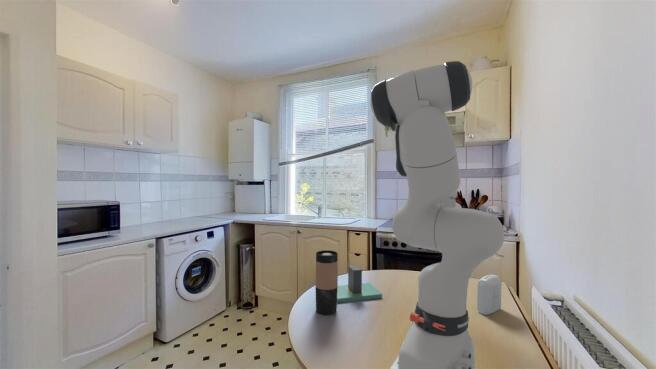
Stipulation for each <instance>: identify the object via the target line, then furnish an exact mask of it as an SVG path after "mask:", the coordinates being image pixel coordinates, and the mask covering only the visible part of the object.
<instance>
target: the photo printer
mask: <svg viewBox="0 0 656 369" xmlns="http://www.w3.org/2000/svg"><path fill="white" fill-rule="evenodd" d="M502 285H503V284H502V280H501V277H499V276H498V275H495V274H488V275H485V276H482V277H481V278H480V279H479V281H478V282H477V295H476V296H477V298H476V300H477V302H476V306H477V307H476V308H477V310H476V311H477V312H478V313H480V314H482V315H485V316H487V315H492V314H493V313H496V312H497V311H500V310H501V308H502Z"/></svg>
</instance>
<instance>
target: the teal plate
mask: <svg viewBox="0 0 656 369" xmlns="http://www.w3.org/2000/svg"><path fill="white" fill-rule="evenodd" d="M382 298H383V293H382V292H381V291H379V290H378V289H377V288H376V287H375V286H374V285H373V284H371V282H366V283H364V282H362V293H355V294H353V293H352V292H351V290H350V289H349V288H348V284H343V285H338V288H337V304H339V303H349V302H356V301H357V302H358V301H364V300H365V301H366V300H375V299H382Z"/></svg>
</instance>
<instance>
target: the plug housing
mask: <svg viewBox="0 0 656 369" xmlns="http://www.w3.org/2000/svg"><path fill="white" fill-rule="evenodd" d="M347 270H348V271H347V272H348V273H347V276H348V278H347V282H348V284H347V285H348V288H349V289H350V290H351V292H352V293H353V294H355V293H362V284H363V282H362V281H363V279H362V278H363V271H362V270H363V269H362V268H360V267H359V266H358V265H357V264H356V265H355V264H353V265H348V268H347Z"/></svg>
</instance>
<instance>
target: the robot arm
mask: <svg viewBox="0 0 656 369" xmlns="http://www.w3.org/2000/svg"><path fill="white" fill-rule="evenodd" d="M472 92H473V79H472V76H471V73H470V70H468V68H467V66H466V64H465V63H463V62H461V61H460V60H457V61H456V60H455V61H454V60H453V61H452V60H451V61H444V63H443V64H437V65H432V66H431V65H430V66H427V67H423V68H419V69H416V70H415V69H411V70H409V71H406V72H404V73H401V74H398V75H395V76H393V77H391V78H389V79H384V80H381V81H380V82H378V83H376V84H375V85H373V86H372V89H371V91H370V108H371V111H372V114H373V115H374V117H375V119H376V121H377V122H378V123H380V124H381V125H383V126H384V127H387V128H390V129H391V131H393V132H394V133H395V138H394V141H395V152H396V153H395V155H396V160H395V168H396V171H397V172H398V174H399V175H400V176H401V177H405V178H406V179H407V186H408V197H407V200H406V202H405V203H404V205H402V206H401V207H399V209H398V210H397V211H396V212H395V213H394V216H393V218H392V223H391V224H392V225H391V226H392V231H393V235H394V236H395V237H394V238H396V240H397V241H399V242H401V243H402V244H403V243H404V244H405V245H408V246H411V247H413V248H418V249H419V248H420V249H424V250H430V251H436V252H440V253H441V256H442V257H441V261H440V262H436V263H432V264H430V265H427V266H426V267H423V269H422V270H421V271H420V273H419V276H418V280H417V281H418V282H417V284H418V285H417V288H418V289H417V291H418V292H417V302H416V305H415V308H414V312H413V311H411V312H410V315H409V317H408V318H409V322H410V321H411V322H412V324H411V326H410V329H409V330H408V332H407V334H406V336H405V338H404V340H403V343H402V344H401V347H400V349H399V352H398V353H399V354H398V355H397V357H396V359H395V360H394V362H393V363H392V364H391V366H390V368H389V369H477V368H476V348H475V341H474V339H473V338H472V336H471V335H470V333H469V330H468V329H469V321H470V318H469V311H468V310H467V302H468V301H467V300H468V299H467V298H468V290H469V283H470V282H469V281H470V279H471V276H472V273H473V272H474V271H475V270H476V268H477V267H478V266H479V265H480V264H481V263H482V262H484V261H485V260H487V259H489V258H491V257H493V256H495V255H496V254H497V253H498V252H499V251H500V250H501V248H502V246H503V245H504V242H505V230H504V226H503V223H501V220H500V219H499V218H498V217H497V216H496V214H493V213H490V212H488V211H487V212H486V211H483V210H479V209H475V208H463V207H456V206H457V201H456V198H457V197H458V192H457V191H458V190H459V188H460V186H461V175H460V167H459V161H458V154H457V149H456V147H457V146H456V143H455V140H454V134H453V132H452V127H451V125H450V122H449V120H448V117H447V115H446V113H447V112H451V111H452V112H454V111H456V110H457V111H458V110H459V109H461V108H463V107H465V106H467V104H468V103H469V101H470V100H471V94H472Z"/></svg>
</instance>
